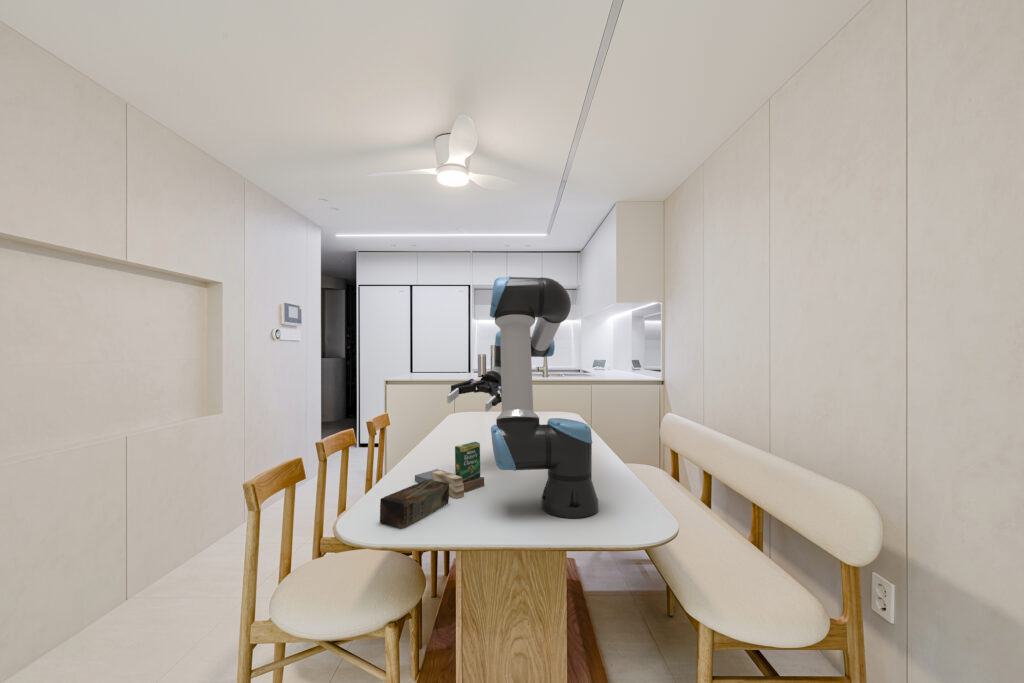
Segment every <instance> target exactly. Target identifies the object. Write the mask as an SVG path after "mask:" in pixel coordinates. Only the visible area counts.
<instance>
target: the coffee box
mask: <svg viewBox="0 0 1024 683" xmlns="http://www.w3.org/2000/svg"><path fill="white" fill-rule="evenodd" d="M454 464H455V465H454V466H455V470H454V472H455V473H454V474H455V475H457V476H460V477H463V483H465V482H468V481H471V480H474V479H477V478H480V477H481V444H480V442H477V441H473V442H468V443H464V444H459V445H456V446H455V445H454Z"/></svg>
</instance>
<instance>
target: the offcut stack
mask: <svg viewBox="0 0 1024 683" xmlns="http://www.w3.org/2000/svg"><path fill="white" fill-rule="evenodd" d="M438 470H439V471H435V472H432V478H433V479H435V481H440V482H445V483H449V496H450V497H449V498H453V499H455V498H456V499H460V498H462V496H463V497H464V496H465V492H464V484H463V477H460V476H457V475H453V474H454V473H452V474H450V473H451V472H449V473H446V472H447V471H445V472H443V471H444V470H442V471H440V470H441V469H438ZM459 497H460V498H459Z"/></svg>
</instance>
